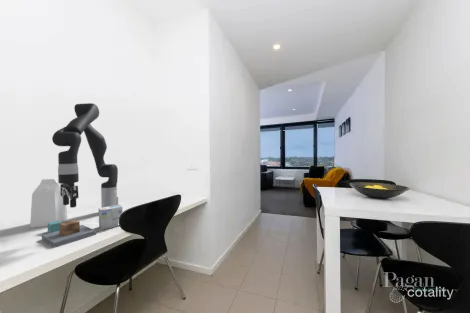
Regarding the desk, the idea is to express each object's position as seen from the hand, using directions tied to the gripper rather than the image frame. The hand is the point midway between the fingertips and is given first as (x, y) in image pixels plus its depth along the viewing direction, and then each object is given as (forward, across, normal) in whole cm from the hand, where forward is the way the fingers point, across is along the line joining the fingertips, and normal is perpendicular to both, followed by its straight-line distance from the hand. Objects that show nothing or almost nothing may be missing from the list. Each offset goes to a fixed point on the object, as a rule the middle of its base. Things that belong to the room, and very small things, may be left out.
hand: (69, 206), depth 96 cm
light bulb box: (+16, -2, -18) cm, 24 cm away
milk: (+16, +35, -2) cm, 38 cm away
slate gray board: (+15, 0, 0) cm, 15 cm away
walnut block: (+13, 0, 0) cm, 13 cm away
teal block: (+15, +16, +1) cm, 22 cm away
